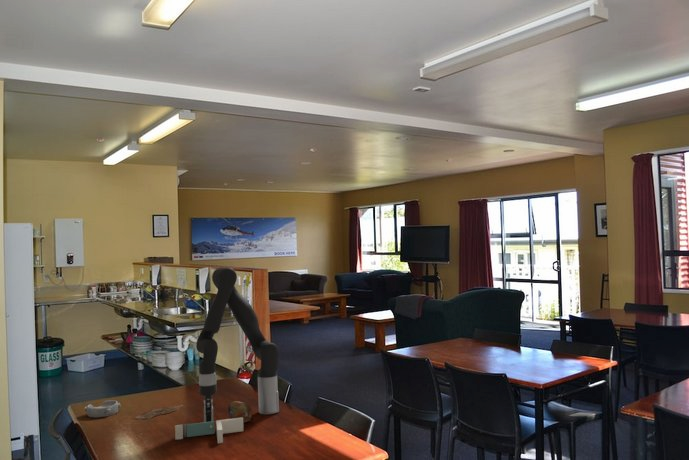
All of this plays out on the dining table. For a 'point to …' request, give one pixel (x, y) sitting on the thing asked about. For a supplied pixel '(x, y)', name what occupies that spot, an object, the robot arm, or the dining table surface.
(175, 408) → the wooden fragment
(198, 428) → the teal long flat block
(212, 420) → the block
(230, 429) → the grey angled piece
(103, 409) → the dish
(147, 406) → the dining table surface
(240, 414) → the tin
